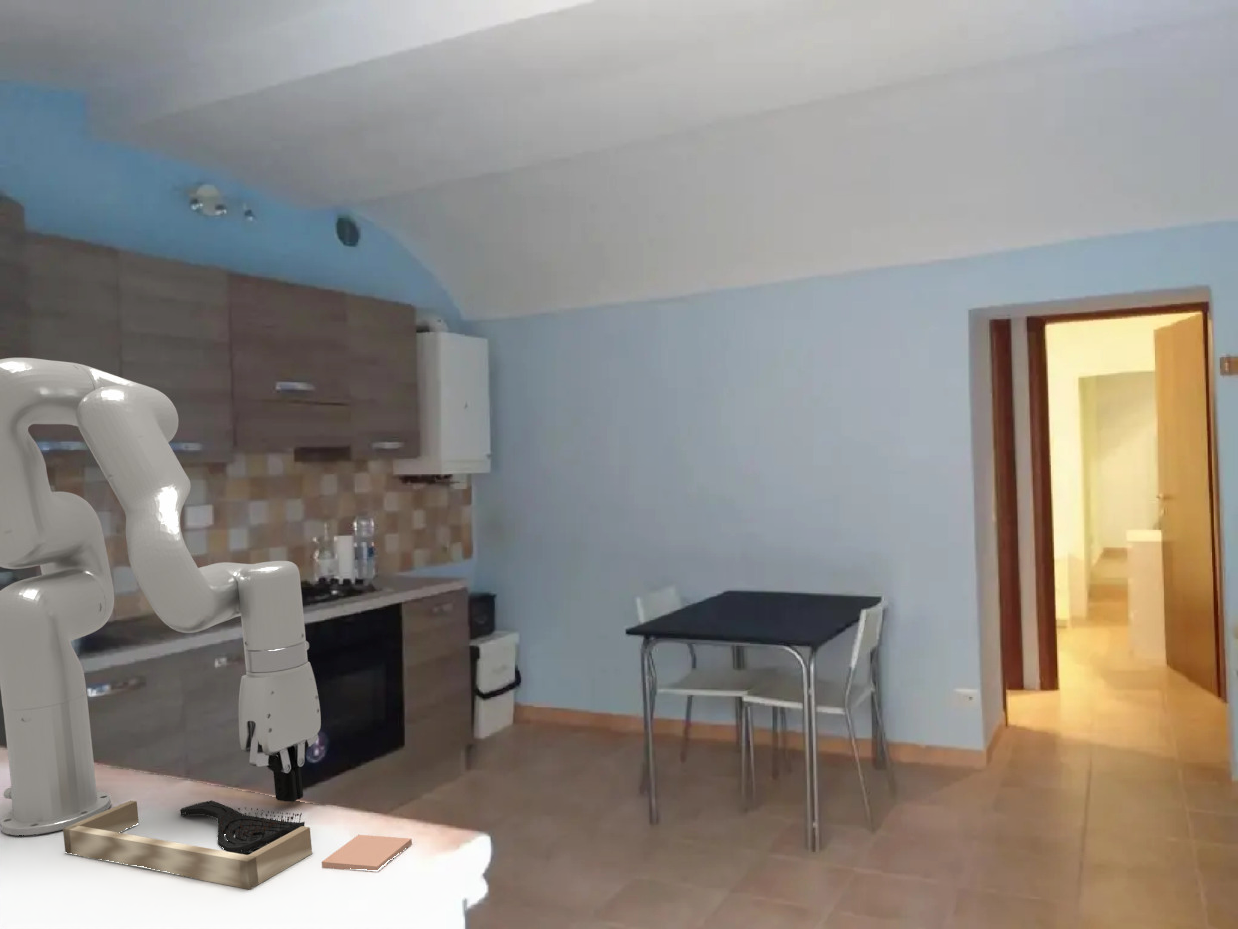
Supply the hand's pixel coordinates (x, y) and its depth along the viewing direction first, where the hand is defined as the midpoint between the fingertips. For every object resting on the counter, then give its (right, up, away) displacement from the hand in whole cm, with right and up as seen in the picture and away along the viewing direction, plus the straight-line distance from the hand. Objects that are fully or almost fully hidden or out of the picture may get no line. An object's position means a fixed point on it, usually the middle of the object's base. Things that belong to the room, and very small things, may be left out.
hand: (289, 798), depth 128 cm
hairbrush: (-4, -2, -7) cm, 8 cm away
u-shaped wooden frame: (-8, -2, -13) cm, 15 cm away
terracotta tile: (+15, -1, -18) cm, 23 cm away
